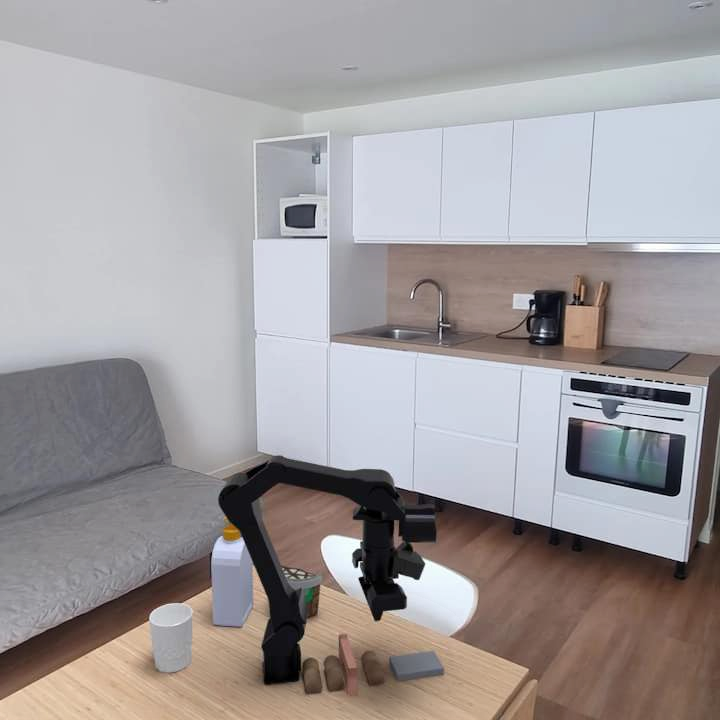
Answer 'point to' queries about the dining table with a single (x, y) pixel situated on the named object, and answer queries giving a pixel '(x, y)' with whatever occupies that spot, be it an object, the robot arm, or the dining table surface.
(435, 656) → the slab
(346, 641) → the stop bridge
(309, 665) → the roller
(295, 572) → the food container
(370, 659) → the roller
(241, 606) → the soap bottle
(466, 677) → the dining table surface
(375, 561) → the robot arm
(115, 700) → the dining table surface
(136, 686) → the dining table surface
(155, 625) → the white cup
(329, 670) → the roller
